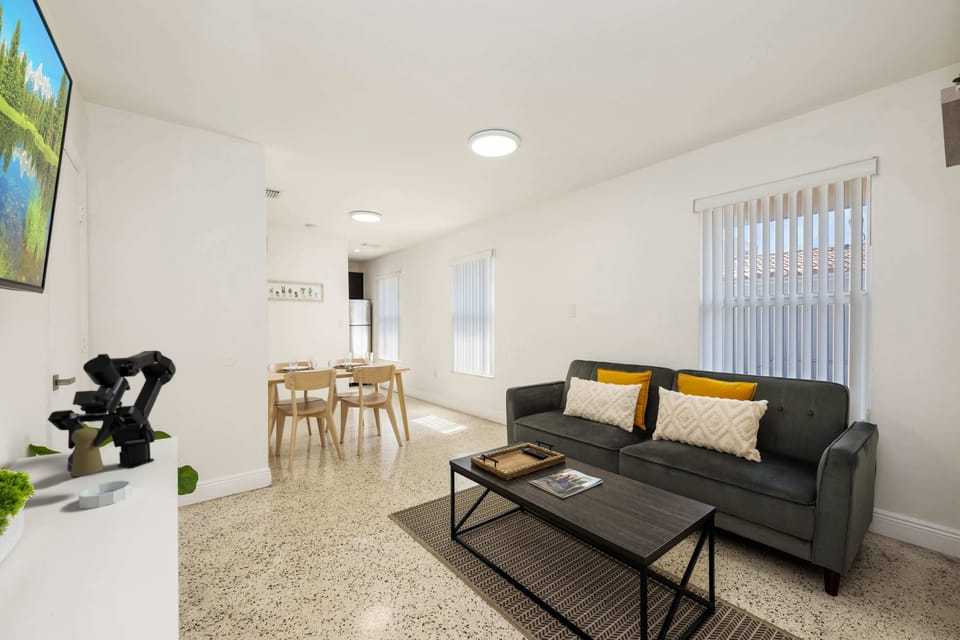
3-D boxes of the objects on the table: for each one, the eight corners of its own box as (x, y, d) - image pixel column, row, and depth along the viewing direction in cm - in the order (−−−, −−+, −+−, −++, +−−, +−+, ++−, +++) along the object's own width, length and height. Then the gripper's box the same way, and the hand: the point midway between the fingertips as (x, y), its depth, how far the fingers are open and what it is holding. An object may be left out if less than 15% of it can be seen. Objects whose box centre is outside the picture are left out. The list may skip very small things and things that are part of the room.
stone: (68, 472, 121) (66, 438, 121) (96, 466, 126) (95, 433, 125) (67, 485, 111) (65, 448, 111) (98, 478, 116) (96, 443, 116)
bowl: (114, 489, 108) (114, 478, 108) (140, 493, 105) (139, 482, 105) (69, 506, 99) (69, 494, 99) (96, 510, 96) (95, 498, 96)
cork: (66, 477, 101) (64, 433, 101) (76, 469, 107) (74, 427, 107) (98, 472, 104) (96, 429, 104) (107, 465, 110) (105, 423, 109)
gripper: (51, 380, 107) (16, 435, 96) (134, 375, 111) (109, 427, 100) (75, 404, 115) (45, 456, 104) (152, 398, 119) (131, 449, 108)
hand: (82, 447), depth 104 cm, fingers closed on cork, 5 cm apart
